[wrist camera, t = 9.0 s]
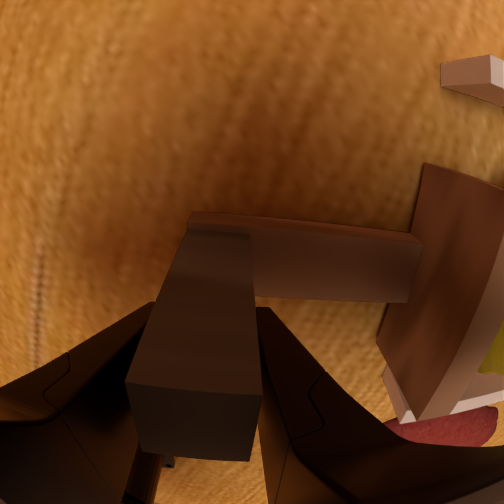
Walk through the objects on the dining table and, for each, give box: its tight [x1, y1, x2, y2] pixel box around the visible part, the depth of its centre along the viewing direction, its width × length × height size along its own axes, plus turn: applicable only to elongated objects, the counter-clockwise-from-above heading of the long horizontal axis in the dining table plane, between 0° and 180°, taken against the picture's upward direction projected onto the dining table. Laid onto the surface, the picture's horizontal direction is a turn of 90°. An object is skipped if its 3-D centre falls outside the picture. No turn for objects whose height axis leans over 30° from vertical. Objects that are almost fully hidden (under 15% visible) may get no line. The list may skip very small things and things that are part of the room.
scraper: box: [125, 163, 504, 462], centre depth 10 cm, size 10×12×10 cm
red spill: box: [383, 405, 498, 447], centre depth 22 cm, size 18×14×2 cm
